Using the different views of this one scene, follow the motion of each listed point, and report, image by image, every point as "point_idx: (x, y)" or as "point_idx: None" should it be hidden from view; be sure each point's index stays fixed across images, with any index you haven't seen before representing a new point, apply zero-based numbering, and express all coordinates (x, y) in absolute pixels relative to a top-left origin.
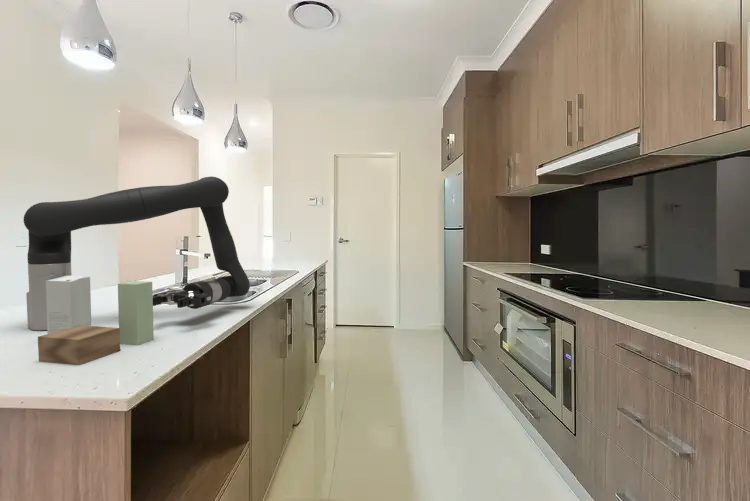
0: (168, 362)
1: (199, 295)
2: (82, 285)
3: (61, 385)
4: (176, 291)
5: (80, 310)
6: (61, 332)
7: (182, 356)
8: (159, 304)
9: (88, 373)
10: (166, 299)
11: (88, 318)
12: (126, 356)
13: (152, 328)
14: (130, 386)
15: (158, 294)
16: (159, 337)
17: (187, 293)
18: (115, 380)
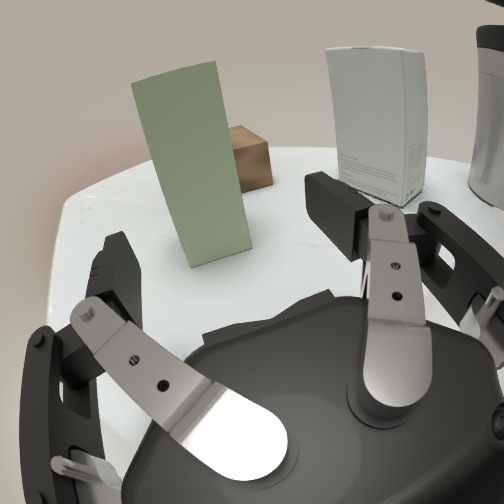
0: (68, 235)
1: (124, 478)
2: (366, 66)
3: (137, 172)
4: (423, 313)
5: (357, 126)
6: (238, 133)
7: (60, 254)
8: (343, 253)
9: (139, 183)
10: (463, 314)
11: (393, 164)
12: (144, 211)
13: (179, 237)
14: (75, 201)
15: (427, 217)
16: (196, 285)
17: (321, 436)
18: (96, 195)
